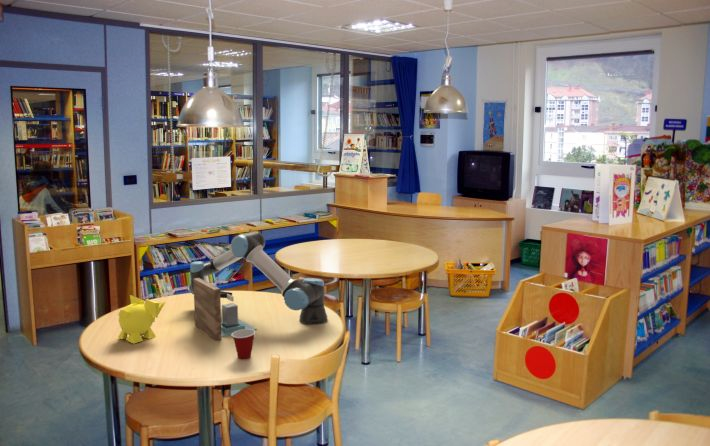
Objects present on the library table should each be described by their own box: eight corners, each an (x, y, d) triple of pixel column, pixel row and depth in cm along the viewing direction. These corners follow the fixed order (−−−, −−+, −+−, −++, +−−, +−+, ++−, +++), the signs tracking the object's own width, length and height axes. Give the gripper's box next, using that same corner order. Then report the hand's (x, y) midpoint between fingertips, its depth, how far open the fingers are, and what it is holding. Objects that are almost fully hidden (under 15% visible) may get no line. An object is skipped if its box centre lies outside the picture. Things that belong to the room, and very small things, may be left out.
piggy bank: (167, 335, 310) (166, 298, 307) (135, 346, 293) (133, 307, 290) (141, 327, 320) (139, 291, 317) (109, 338, 304) (106, 300, 301)
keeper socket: (239, 319, 335) (239, 316, 334) (256, 329, 319) (256, 326, 318) (204, 326, 323) (204, 323, 322) (220, 337, 307) (220, 333, 307)
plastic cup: (233, 353, 286) (232, 328, 284) (256, 352, 287) (256, 328, 285) (230, 362, 276) (229, 336, 274) (254, 361, 277) (254, 336, 275)
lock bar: (233, 324, 325) (232, 302, 323) (238, 327, 320) (237, 305, 318) (222, 326, 321) (221, 304, 319) (227, 330, 317) (226, 307, 315)
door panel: (201, 325, 325) (199, 277, 320) (222, 339, 304) (221, 288, 300) (195, 326, 323) (193, 278, 318) (215, 340, 302) (214, 289, 298)
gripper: (225, 295, 351) (242, 303, 335) (183, 303, 337) (199, 312, 320) (225, 282, 350) (242, 290, 333) (183, 289, 335) (198, 298, 319)
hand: (221, 301), depth 327 cm, fingers open, 13 cm apart
